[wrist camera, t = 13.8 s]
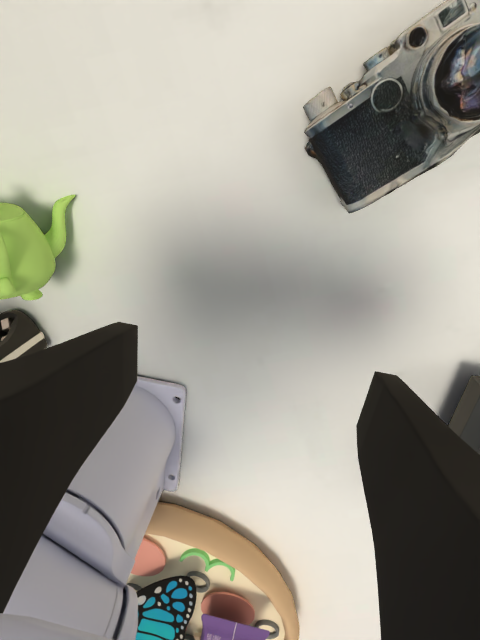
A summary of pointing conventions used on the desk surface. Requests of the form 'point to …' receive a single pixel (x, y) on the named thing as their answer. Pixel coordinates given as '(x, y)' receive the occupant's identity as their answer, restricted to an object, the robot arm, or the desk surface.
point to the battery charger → (19, 336)
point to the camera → (402, 108)
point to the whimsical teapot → (29, 250)
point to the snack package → (229, 630)
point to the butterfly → (166, 608)
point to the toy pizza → (215, 572)
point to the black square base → (468, 414)
